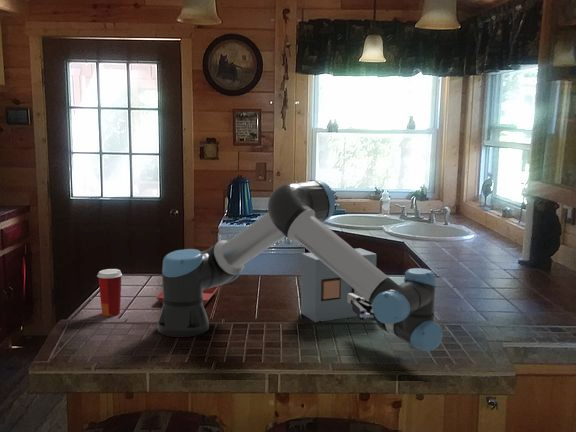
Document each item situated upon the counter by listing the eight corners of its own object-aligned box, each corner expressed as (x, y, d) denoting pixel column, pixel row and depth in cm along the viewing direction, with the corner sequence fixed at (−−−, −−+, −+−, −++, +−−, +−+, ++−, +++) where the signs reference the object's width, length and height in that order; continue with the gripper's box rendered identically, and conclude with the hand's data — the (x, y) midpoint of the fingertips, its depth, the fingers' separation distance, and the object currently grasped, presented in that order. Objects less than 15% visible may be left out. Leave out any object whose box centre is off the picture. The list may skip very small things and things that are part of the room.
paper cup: (125, 310, 207) (124, 268, 205) (120, 317, 199) (119, 274, 197) (101, 310, 207) (100, 268, 205) (95, 317, 199) (93, 274, 197)
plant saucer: (219, 294, 228) (219, 285, 228) (208, 308, 211) (207, 299, 210) (170, 292, 230) (170, 283, 230) (155, 306, 212) (155, 297, 212)
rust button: (316, 295, 201) (316, 278, 200) (331, 293, 203) (331, 276, 202) (323, 299, 196) (324, 282, 195) (339, 297, 198) (339, 280, 198)
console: (300, 313, 205) (301, 253, 202) (358, 305, 215) (360, 248, 212) (315, 322, 196) (316, 259, 193) (374, 313, 206) (376, 254, 203)
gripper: (374, 337, 164) (330, 312, 185) (415, 330, 169) (367, 307, 190) (375, 309, 163) (330, 287, 184) (416, 303, 168) (368, 283, 189)
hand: (349, 297), depth 187 cm, fingers closed
